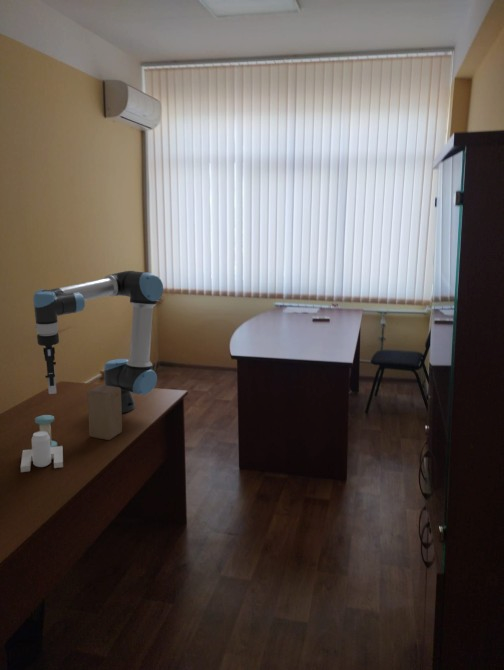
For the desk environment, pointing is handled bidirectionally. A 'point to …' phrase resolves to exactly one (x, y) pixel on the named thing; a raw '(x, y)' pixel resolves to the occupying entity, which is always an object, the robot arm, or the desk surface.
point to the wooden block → (105, 412)
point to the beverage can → (41, 449)
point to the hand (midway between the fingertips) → (52, 387)
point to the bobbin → (46, 426)
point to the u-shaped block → (55, 454)
